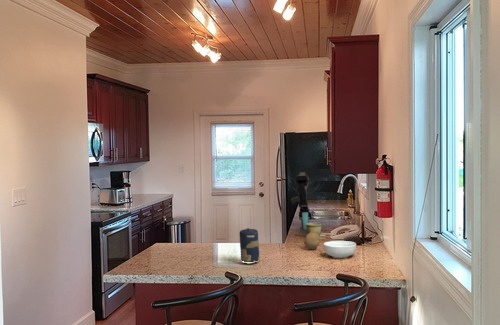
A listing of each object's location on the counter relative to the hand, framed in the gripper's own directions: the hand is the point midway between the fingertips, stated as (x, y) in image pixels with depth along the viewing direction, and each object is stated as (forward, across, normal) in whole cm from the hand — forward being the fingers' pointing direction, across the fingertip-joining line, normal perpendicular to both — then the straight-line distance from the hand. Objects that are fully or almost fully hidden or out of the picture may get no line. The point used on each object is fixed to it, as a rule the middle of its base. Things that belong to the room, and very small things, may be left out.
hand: (303, 214), depth 308 cm
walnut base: (+12, +12, +1) cm, 17 cm away
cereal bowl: (+12, +82, +17) cm, 85 cm away
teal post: (+11, +12, +1) cm, 17 cm away
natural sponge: (+12, +63, +4) cm, 64 cm away
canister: (+12, +90, -29) cm, 95 cm away
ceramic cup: (+12, +30, +6) cm, 33 cm away
